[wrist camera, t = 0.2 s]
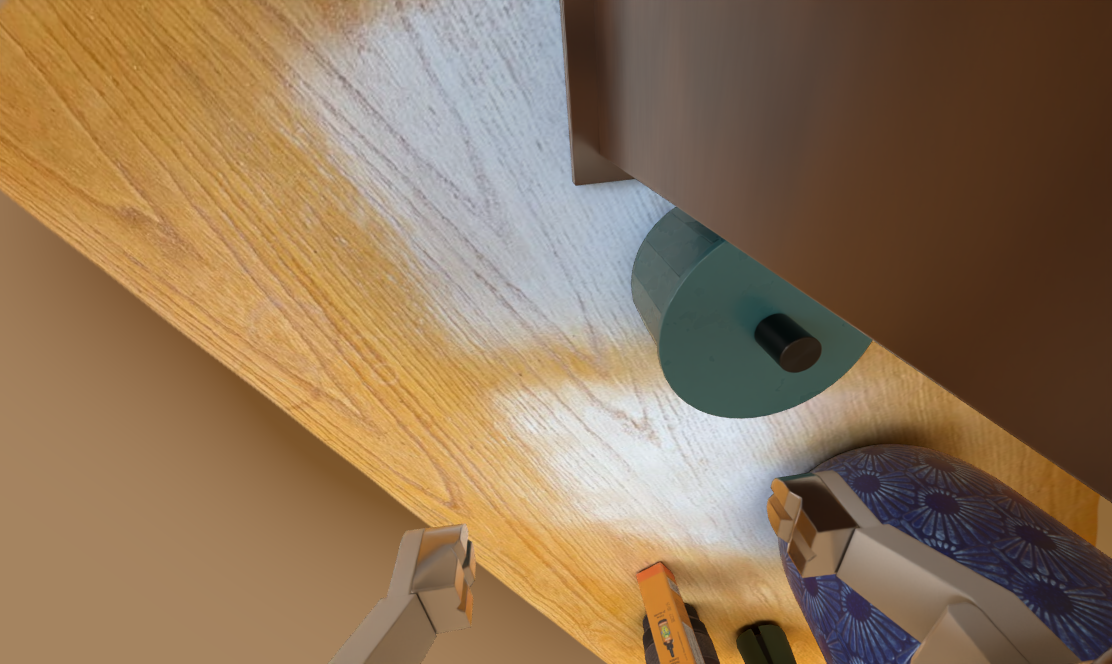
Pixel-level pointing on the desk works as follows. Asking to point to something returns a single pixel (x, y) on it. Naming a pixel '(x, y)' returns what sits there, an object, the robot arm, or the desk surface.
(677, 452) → the desk surface
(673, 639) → the supplement box
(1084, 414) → the stand
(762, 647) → the character mug
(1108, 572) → the planter
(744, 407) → the pot lid
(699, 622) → the camera lens
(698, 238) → the pot
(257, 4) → the desk surface
